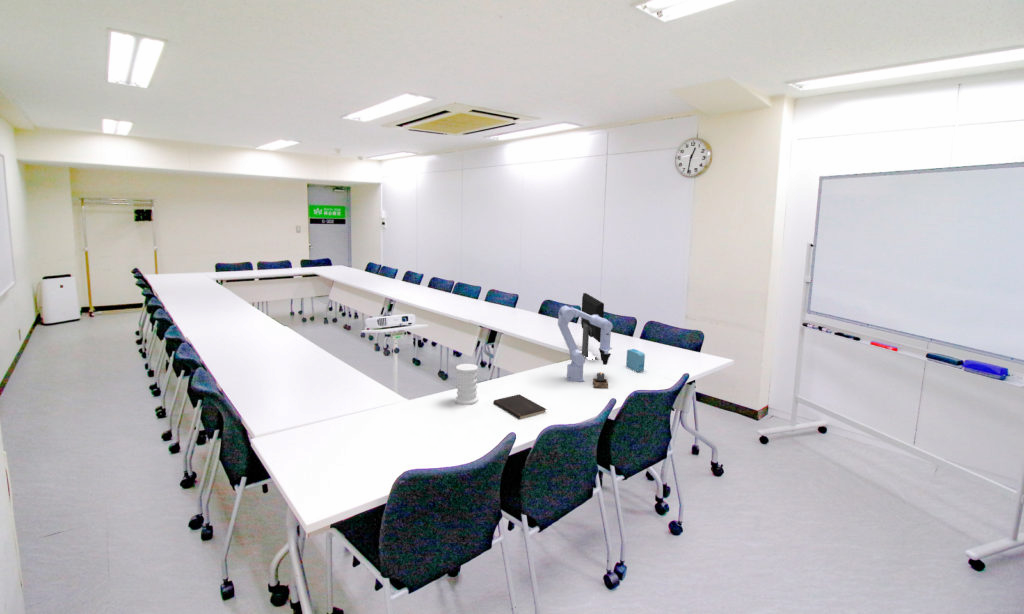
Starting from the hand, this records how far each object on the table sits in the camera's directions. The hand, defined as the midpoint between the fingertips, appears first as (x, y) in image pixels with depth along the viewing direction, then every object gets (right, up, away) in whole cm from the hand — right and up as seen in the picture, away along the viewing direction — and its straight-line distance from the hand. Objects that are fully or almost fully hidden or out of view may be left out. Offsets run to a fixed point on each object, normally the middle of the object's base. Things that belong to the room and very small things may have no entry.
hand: (604, 362), depth 288 cm
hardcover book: (-50, -18, -45) cm, 70 cm away
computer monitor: (-2, -1, +47) cm, 47 cm away
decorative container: (-77, -16, -37) cm, 87 cm away
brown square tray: (-4, -12, -12) cm, 17 cm away
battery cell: (-4, -11, -12) cm, 17 cm away
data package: (+23, -7, +18) cm, 30 cm away
